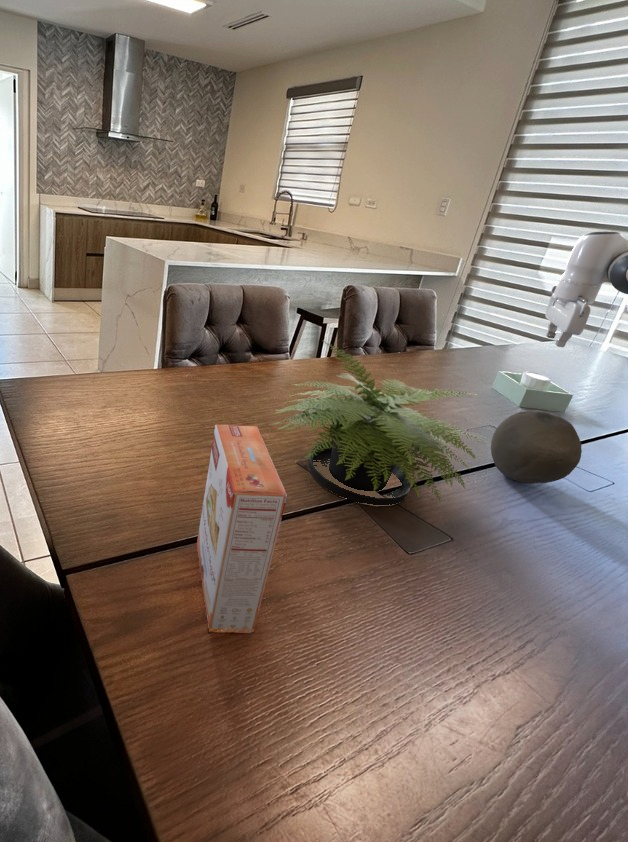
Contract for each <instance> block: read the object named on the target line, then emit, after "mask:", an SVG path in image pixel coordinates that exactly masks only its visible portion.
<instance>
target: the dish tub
mask: <svg viewBox="0 0 628 842" xmlns="http://www.w3.org/2000/svg"><path fill="white" fill-rule="evenodd" d="M522 375H523V373H519V372H510V371H504V370H503V371H501V370H498V372H497V374H496V377H495V379H494V381H493V384H492V386H491V388H492V389H494V390H495V391H496V392H497V393H499V394H500V395H502V396H503V397H505V398H506V399H507V400H509V401H511V403H512V404H514V405H516V406H517V407H518V408H525V409H526V408H527V409H533V410H542V411H553V412H559V413H560V412H561V413H566V411H567V409H568V407H569V405H570V402H571V401H572V399H573V397H574V394H573V393H571V392H570V391H568V390H566V389H565V388H563V387H561V386H560V385H558V384H556V383H554V382H552V381H551V382H550V384H549V385H548V387H547V388H546V390H545V391H543V390H535V389H527V388H526V387H524V386H523V385H521V384H520V381H521V378H522Z"/></svg>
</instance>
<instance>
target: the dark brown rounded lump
mask: <svg viewBox="0 0 628 842" xmlns="http://www.w3.org/2000/svg"><path fill="white" fill-rule="evenodd" d="M582 452H583V449H582V442H581V438H580V436H579V434H578V432H577V430H576V428H575V427H574V425H573V424H572V423H571V422H569V421H568V420H567V419H565V417H562V416H559V415H557V414H555V413H553V412H552V413H551V412H548V411H546V410H539V409H529V410H522V411H519V412H515V413H514V414H511V415H510V416H508V417H507V418H505V419H504V420H503V421H502V422H501V423H500V424H499V425H497V427H496V428H495V430H494V432H493V435H492V437H491V441H490V454H491V458H492V461H493V463H494V465H495V467H496V469H497V470H498V471H499V472H500V473H501V474H503V475H504V476H506V477H507V478H509V479H511V480H513V481H516V482H519V483H523V484H530V485H531V484H532V485H533V484H547V483H552V482H556V481H559V480H560V481H561V480H562V479H564V478H566V477H567V476H569V475H570V474H571V473H572V472H573V471H574V470H575V469H576V467H577V466H578V465H579V463H580V461H581V458H582Z"/></svg>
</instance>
